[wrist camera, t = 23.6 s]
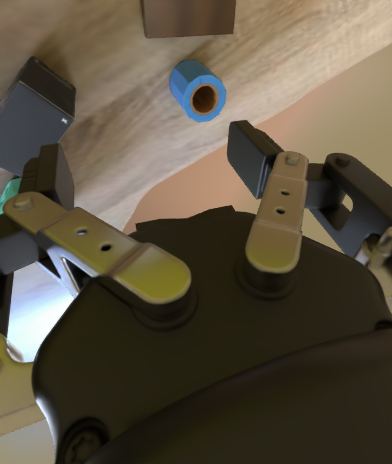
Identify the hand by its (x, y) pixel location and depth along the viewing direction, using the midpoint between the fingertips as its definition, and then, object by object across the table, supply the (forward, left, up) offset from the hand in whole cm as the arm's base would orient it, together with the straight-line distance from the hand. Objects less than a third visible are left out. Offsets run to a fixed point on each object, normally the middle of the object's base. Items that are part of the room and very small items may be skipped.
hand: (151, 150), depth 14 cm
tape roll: (+11, -7, -32) cm, 35 cm away
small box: (-11, -8, -32) cm, 35 cm away
